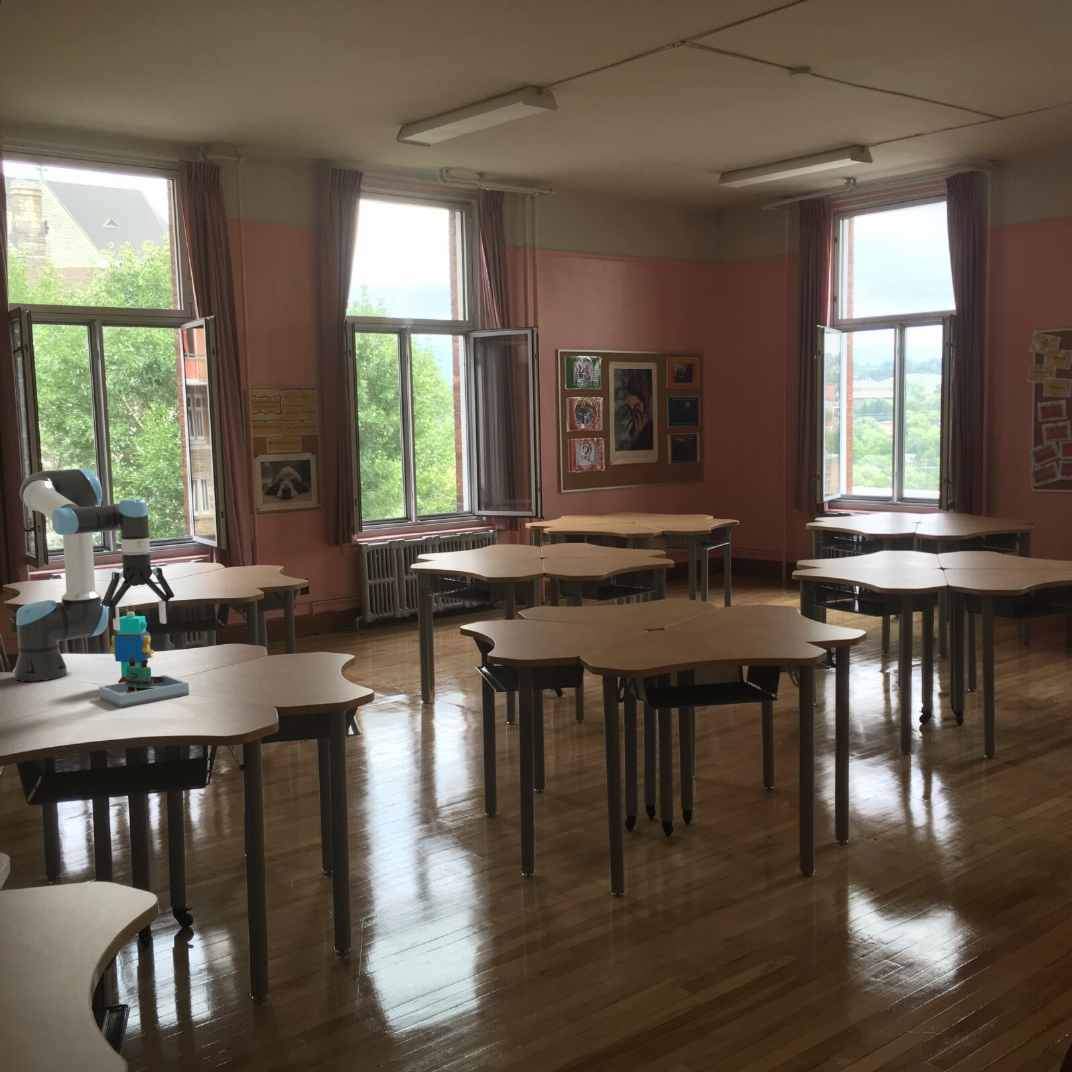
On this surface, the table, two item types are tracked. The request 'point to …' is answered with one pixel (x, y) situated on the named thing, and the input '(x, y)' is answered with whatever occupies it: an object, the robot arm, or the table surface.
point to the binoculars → (140, 677)
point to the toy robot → (131, 642)
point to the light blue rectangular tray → (143, 692)
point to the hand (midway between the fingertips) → (140, 626)
